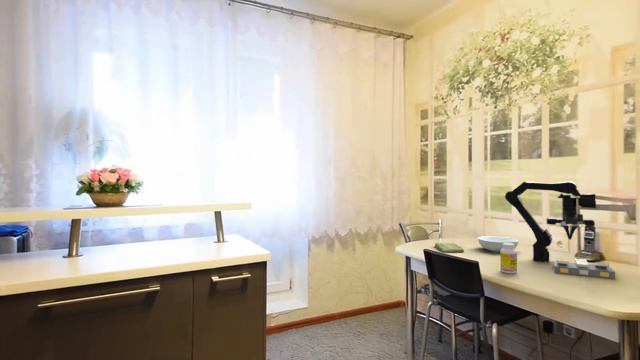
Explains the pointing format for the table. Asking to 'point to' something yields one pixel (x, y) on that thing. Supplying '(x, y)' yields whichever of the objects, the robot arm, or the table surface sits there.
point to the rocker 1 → (563, 261)
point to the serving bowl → (495, 242)
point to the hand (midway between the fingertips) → (569, 239)
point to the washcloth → (449, 247)
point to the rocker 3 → (602, 264)
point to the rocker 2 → (581, 262)
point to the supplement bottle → (508, 258)
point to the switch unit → (583, 270)
